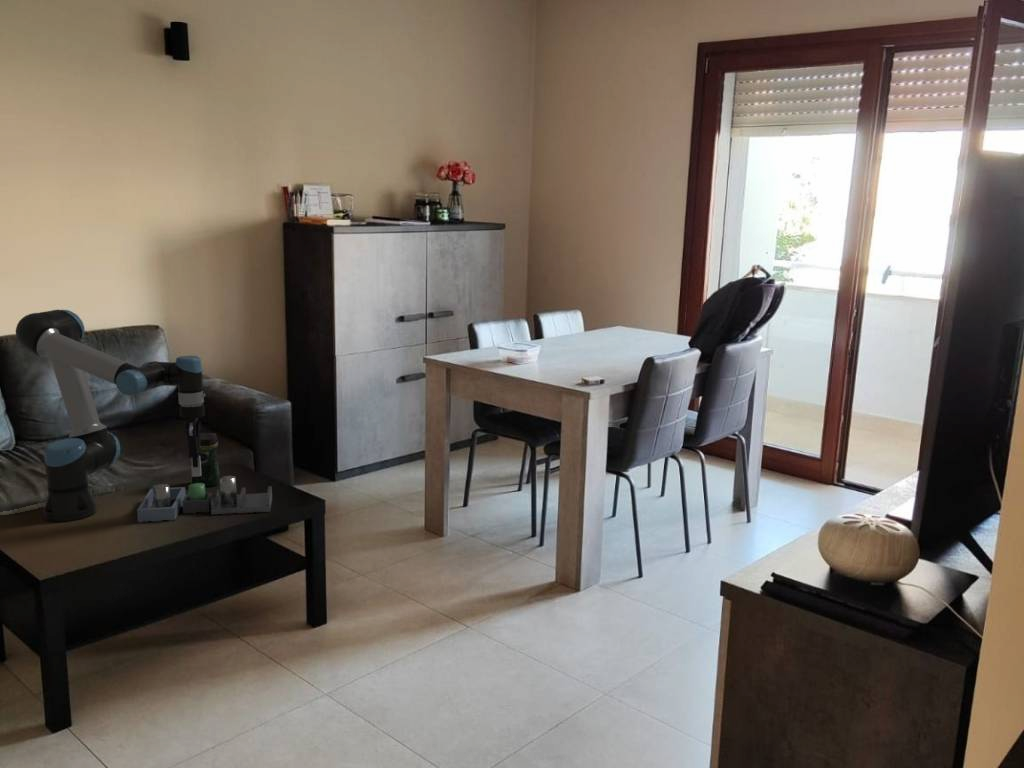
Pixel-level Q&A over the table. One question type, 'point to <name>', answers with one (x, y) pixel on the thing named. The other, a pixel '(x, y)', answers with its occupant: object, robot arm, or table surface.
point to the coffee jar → (208, 461)
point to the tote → (161, 513)
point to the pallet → (242, 503)
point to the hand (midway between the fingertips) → (196, 475)
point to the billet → (161, 496)
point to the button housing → (197, 504)
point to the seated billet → (228, 489)
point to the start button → (197, 491)
